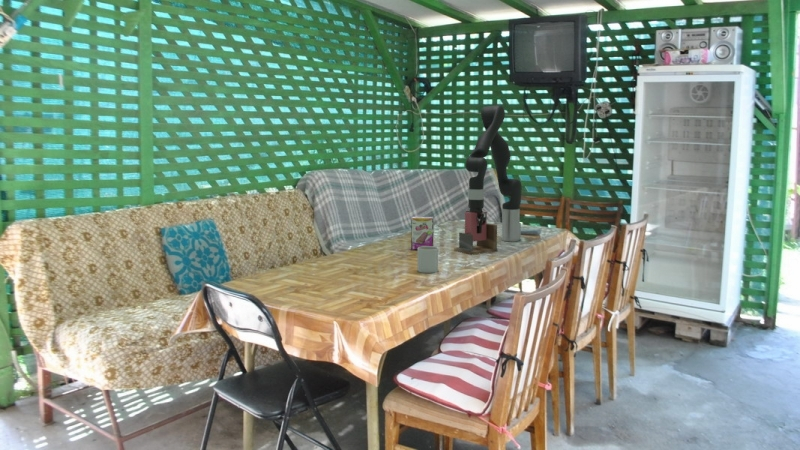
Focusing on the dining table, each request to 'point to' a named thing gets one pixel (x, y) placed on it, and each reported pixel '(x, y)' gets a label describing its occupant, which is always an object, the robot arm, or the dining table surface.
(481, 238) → the burgundy book
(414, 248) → the candy bar box
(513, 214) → the robot arm
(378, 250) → the dining table surface
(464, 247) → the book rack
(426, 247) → the mug
